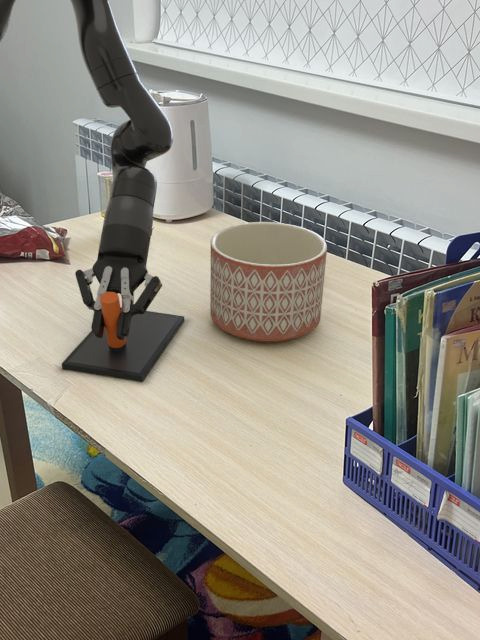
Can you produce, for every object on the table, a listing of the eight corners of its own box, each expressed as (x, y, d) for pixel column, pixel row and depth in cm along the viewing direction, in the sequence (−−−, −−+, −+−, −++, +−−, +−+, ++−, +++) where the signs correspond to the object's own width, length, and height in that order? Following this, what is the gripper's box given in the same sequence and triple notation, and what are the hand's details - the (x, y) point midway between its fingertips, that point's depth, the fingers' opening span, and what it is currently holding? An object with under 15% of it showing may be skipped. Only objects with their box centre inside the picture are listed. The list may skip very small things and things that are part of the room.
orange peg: (106, 351, 108) (96, 301, 102) (112, 339, 110) (103, 290, 104) (122, 354, 108) (114, 304, 101) (129, 342, 110) (121, 293, 103)
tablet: (62, 369, 106) (61, 363, 105) (114, 311, 122) (113, 305, 122) (142, 382, 103) (142, 376, 103) (184, 321, 120) (184, 316, 120)
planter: (194, 306, 125) (193, 229, 118) (289, 290, 132) (293, 216, 125) (236, 358, 110) (238, 273, 103) (339, 336, 118) (349, 256, 110)
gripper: (76, 218, 105) (55, 326, 101) (166, 225, 104) (149, 334, 100) (90, 238, 113) (71, 340, 108) (174, 245, 112) (159, 348, 107)
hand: (109, 336), depth 104 cm, fingers closed on orange peg, 3 cm apart
